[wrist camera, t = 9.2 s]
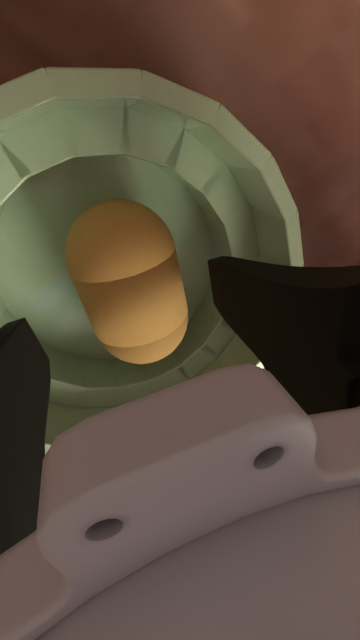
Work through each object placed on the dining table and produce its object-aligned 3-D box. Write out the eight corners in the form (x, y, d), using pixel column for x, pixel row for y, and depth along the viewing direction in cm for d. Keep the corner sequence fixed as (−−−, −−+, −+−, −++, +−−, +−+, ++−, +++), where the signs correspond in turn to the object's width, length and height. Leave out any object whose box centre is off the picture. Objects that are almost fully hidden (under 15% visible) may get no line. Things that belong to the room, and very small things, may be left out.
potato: (35, 212, 12) (60, 230, 8) (132, 182, 13) (186, 187, 10) (98, 351, 16) (131, 400, 13) (167, 316, 17) (213, 351, 14)
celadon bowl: (277, 158, 15) (367, 165, 10) (197, 378, 21) (232, 443, 16) (-76, 25, 9) (-211, -84, 5) (-47, 377, 15) (-95, 473, 11)
